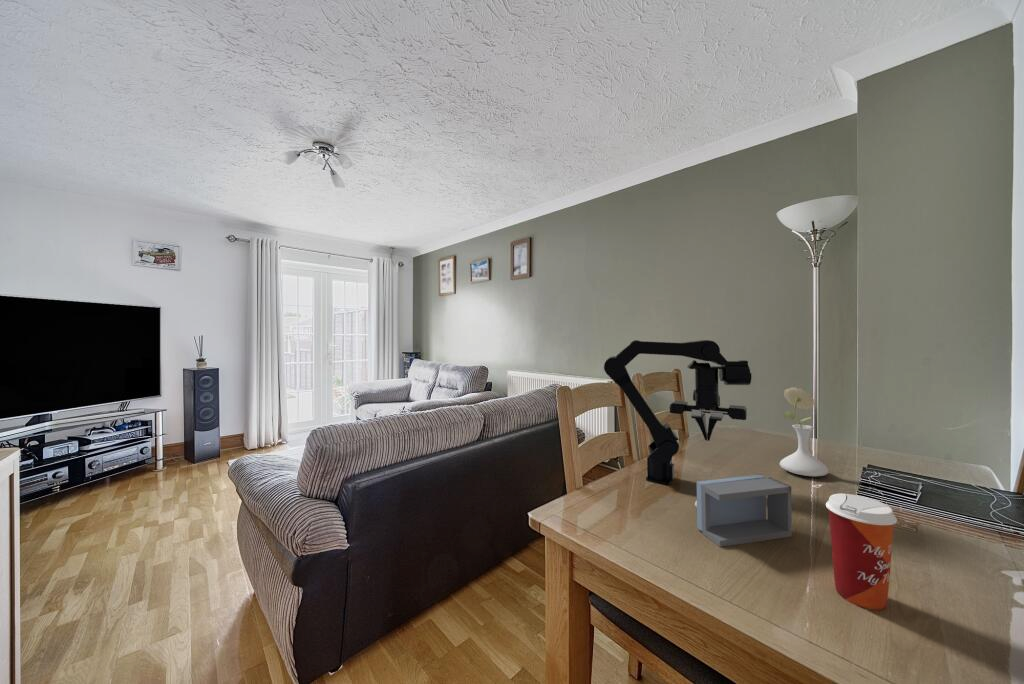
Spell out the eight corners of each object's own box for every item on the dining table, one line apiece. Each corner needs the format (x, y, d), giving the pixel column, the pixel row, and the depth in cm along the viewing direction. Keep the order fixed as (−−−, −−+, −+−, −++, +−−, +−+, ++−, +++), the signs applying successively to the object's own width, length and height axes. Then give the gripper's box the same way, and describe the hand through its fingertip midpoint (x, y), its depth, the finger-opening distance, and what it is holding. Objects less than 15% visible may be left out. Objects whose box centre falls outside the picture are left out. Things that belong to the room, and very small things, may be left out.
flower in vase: (839, 480, 104) (838, 391, 104) (798, 480, 104) (797, 392, 104) (803, 463, 117) (802, 384, 117) (767, 464, 117) (766, 385, 117)
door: (693, 525, 81) (692, 479, 81) (759, 515, 84) (759, 472, 84) (702, 531, 79) (701, 484, 78) (770, 521, 82) (769, 476, 82)
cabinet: (702, 533, 78) (701, 484, 78) (770, 524, 81) (770, 477, 81) (719, 546, 73) (719, 494, 73) (791, 536, 76) (791, 486, 76)
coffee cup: (884, 623, 54) (883, 520, 53) (816, 589, 61) (815, 498, 61) (907, 603, 57) (906, 507, 57) (840, 573, 65) (840, 488, 64)
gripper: (747, 383, 105) (748, 438, 105) (676, 380, 116) (677, 429, 116) (745, 388, 96) (746, 448, 96) (668, 384, 107) (669, 438, 107)
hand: (707, 440), depth 104 cm, fingers closed
